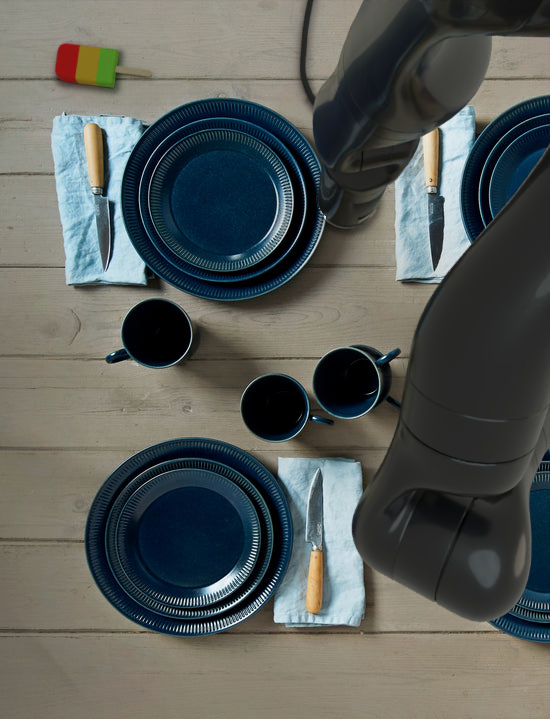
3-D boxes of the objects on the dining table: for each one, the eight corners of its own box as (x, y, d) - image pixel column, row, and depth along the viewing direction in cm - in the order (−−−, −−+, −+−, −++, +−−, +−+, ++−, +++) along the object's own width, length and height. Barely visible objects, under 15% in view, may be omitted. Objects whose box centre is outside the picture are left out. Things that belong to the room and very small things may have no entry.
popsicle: (62, 47, 89) (57, 40, 88) (155, 59, 89) (152, 52, 87) (57, 82, 90) (52, 76, 88) (150, 94, 89) (147, 88, 87)
